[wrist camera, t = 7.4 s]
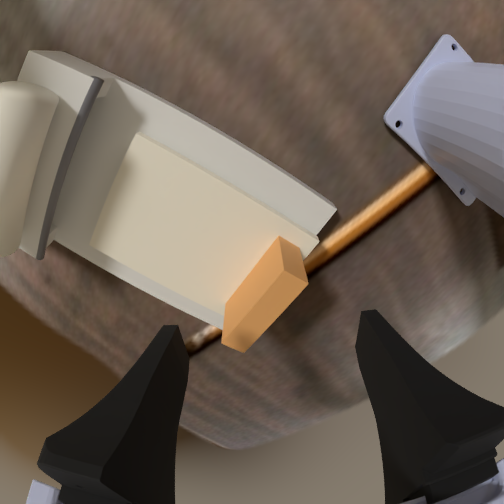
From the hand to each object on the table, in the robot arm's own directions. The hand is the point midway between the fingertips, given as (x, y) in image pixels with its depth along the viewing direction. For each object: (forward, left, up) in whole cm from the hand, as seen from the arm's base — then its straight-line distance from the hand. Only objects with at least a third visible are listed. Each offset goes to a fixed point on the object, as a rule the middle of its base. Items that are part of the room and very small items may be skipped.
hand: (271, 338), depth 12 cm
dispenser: (+7, +2, -9) cm, 12 cm away
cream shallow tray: (+4, +2, -8) cm, 9 cm away
